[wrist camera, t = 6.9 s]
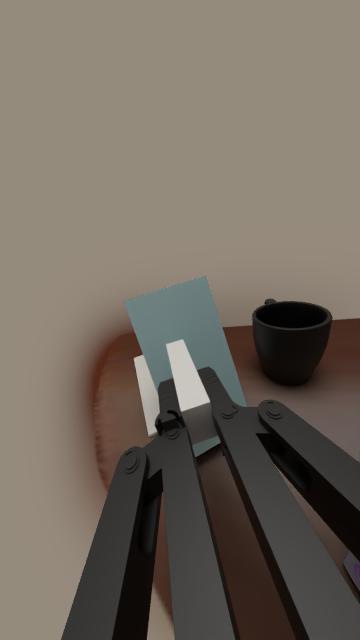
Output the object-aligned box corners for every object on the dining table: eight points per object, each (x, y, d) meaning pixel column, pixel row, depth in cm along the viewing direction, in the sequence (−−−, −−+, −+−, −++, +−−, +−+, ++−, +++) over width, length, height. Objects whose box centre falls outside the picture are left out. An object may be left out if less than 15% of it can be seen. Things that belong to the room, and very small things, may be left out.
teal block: (227, 400, 22) (189, 286, 21) (252, 423, 17) (205, 275, 16) (172, 430, 20) (127, 306, 19) (183, 464, 15) (123, 300, 14)
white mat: (187, 338, 39) (187, 337, 38) (236, 392, 23) (235, 390, 23) (134, 359, 36) (133, 358, 35) (149, 437, 20) (148, 435, 20)
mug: (295, 339, 30) (299, 289, 26) (335, 395, 20) (352, 325, 16) (247, 342, 32) (244, 296, 29) (260, 393, 22) (259, 332, 18)
